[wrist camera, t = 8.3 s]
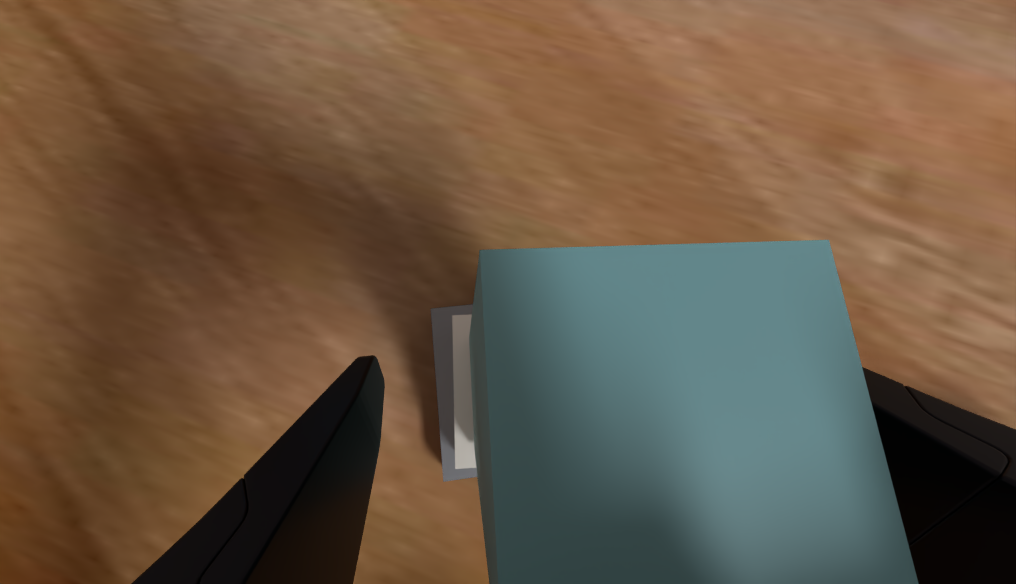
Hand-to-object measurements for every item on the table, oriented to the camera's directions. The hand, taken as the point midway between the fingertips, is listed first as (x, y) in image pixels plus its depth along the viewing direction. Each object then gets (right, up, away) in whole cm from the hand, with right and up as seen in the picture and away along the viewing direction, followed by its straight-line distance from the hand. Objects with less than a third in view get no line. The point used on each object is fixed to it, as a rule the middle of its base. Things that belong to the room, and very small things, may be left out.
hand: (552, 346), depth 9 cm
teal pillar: (0, -3, +8) cm, 8 cm away
